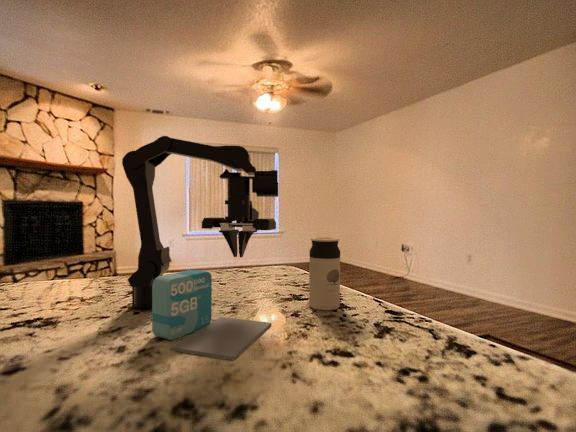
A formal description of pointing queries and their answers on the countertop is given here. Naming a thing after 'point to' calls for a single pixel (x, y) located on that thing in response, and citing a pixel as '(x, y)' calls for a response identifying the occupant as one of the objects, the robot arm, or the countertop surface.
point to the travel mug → (324, 274)
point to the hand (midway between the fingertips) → (238, 257)
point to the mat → (222, 338)
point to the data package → (181, 303)
